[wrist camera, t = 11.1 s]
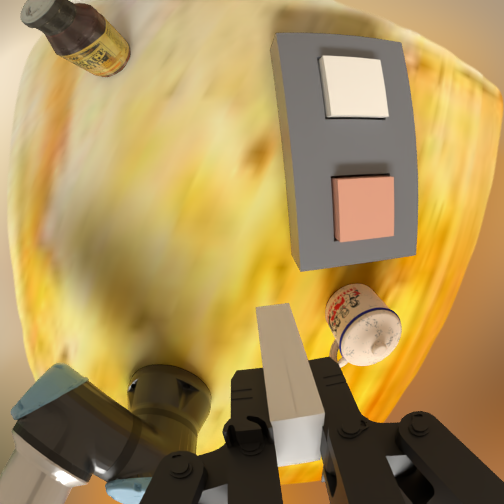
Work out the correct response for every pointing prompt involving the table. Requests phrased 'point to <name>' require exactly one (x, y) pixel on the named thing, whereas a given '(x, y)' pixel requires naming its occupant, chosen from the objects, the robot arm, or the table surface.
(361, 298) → the teacup with lid
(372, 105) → the ivory key
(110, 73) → the sauce bottle
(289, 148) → the key box
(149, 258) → the table surface
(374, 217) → the terracotta key
